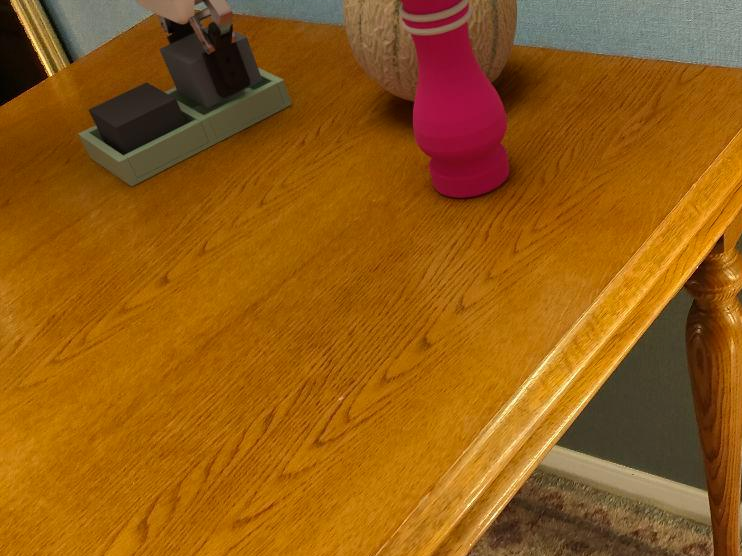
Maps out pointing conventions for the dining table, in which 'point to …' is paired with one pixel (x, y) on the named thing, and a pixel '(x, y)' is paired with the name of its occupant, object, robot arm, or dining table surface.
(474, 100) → the pepper mill
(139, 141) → the dark grey block
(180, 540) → the dining table surface
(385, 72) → the cantaloupe
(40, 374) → the dining table surface
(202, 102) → the grey square block
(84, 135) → the holder
